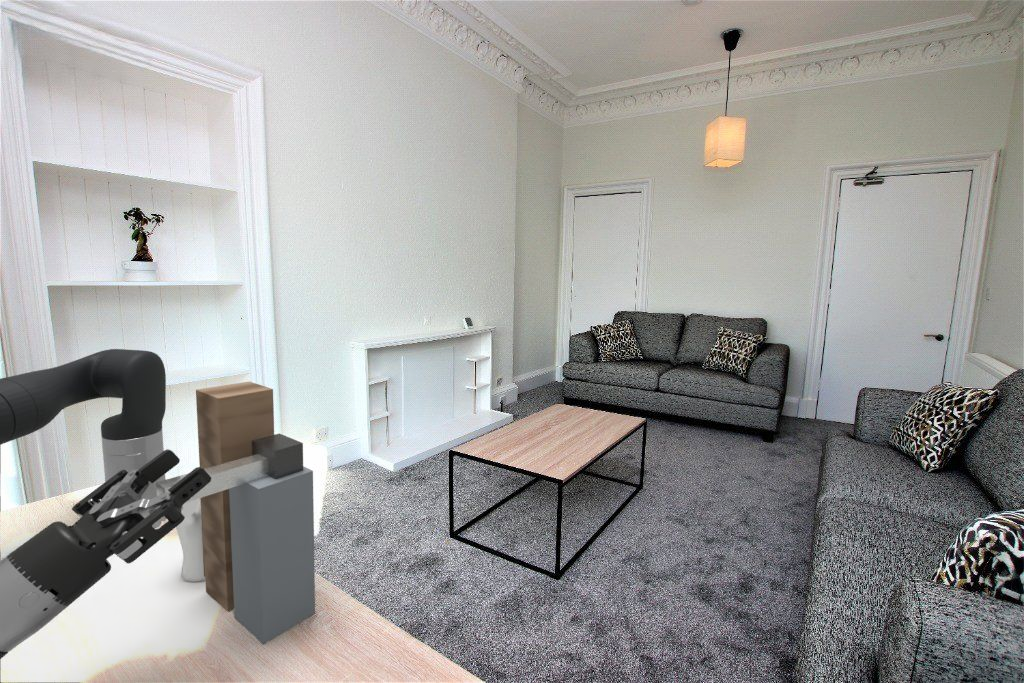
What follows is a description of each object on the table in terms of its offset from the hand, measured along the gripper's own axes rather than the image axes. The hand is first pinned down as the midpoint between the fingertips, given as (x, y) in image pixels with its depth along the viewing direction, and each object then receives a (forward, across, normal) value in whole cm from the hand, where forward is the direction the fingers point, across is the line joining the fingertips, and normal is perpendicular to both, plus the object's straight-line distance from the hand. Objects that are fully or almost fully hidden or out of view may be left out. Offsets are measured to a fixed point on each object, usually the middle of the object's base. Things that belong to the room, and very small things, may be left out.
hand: (189, 463), depth 58 cm
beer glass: (-6, -20, -27) cm, 34 cm away
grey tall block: (-5, 0, -28) cm, 28 cm away
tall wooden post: (-5, -10, -28) cm, 30 cm away
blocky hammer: (+2, 0, -6) cm, 7 cm away
